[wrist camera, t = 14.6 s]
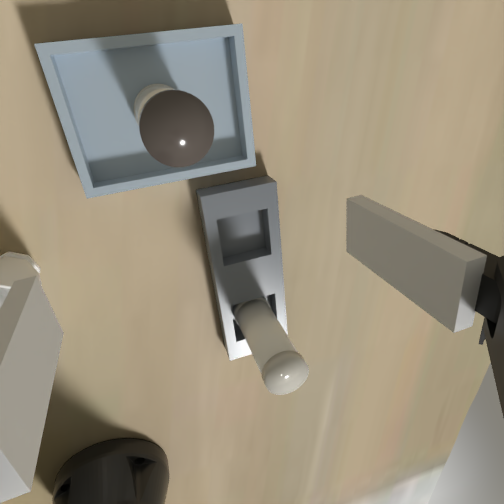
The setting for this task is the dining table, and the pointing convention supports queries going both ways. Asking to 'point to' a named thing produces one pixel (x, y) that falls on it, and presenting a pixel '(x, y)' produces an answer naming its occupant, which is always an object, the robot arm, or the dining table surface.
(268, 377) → the cylinder
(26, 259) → the cup
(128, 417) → the dining table surface
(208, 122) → the cylinder
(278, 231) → the fuse strip
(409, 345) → the dining table surface
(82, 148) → the parts tray
